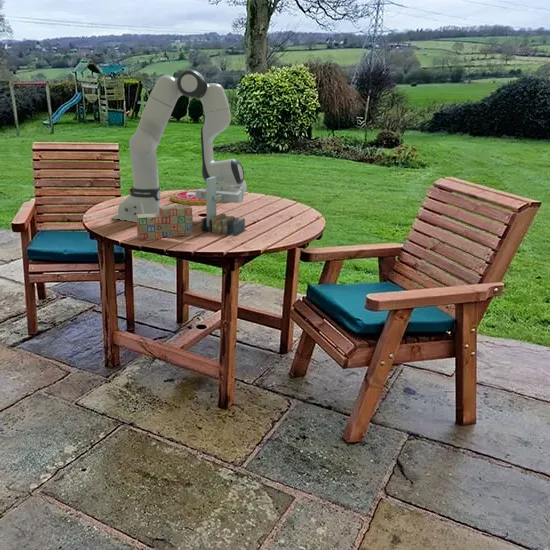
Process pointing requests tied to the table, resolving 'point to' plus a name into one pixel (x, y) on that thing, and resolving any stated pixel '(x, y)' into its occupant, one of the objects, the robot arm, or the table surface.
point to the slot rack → (232, 226)
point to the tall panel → (210, 198)
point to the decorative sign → (188, 198)
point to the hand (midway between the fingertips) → (210, 198)
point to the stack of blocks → (165, 222)
